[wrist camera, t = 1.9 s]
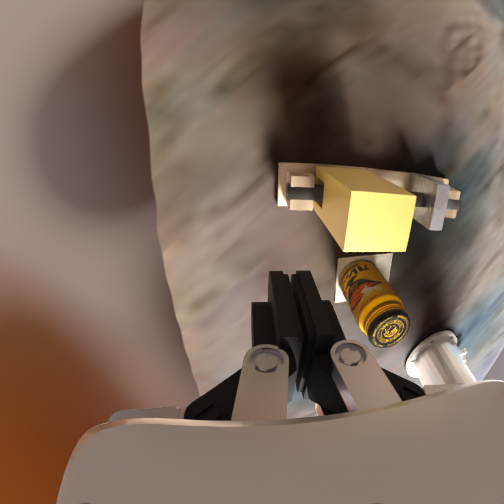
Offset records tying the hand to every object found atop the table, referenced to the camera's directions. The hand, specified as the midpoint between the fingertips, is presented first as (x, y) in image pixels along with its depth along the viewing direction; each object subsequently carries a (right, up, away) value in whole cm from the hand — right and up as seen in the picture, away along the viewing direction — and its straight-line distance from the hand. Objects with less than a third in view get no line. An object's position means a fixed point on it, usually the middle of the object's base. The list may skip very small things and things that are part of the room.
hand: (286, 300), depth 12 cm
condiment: (+14, -2, +27) cm, 31 cm away
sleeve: (+9, +9, +19) cm, 23 cm away
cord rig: (+14, +10, +21) cm, 27 cm away
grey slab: (+20, +10, +21) cm, 30 cm away
